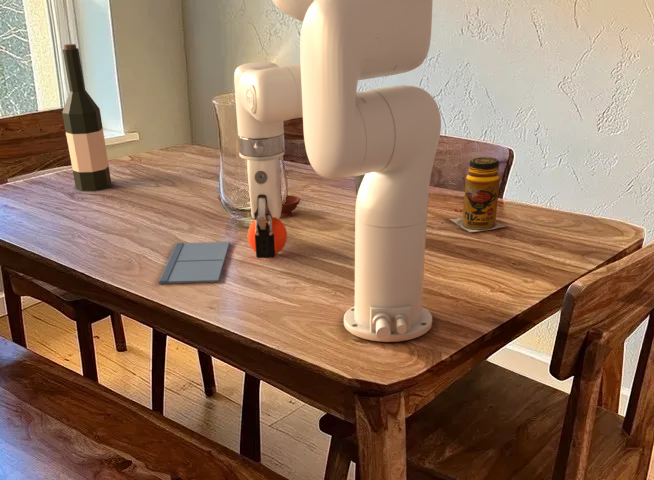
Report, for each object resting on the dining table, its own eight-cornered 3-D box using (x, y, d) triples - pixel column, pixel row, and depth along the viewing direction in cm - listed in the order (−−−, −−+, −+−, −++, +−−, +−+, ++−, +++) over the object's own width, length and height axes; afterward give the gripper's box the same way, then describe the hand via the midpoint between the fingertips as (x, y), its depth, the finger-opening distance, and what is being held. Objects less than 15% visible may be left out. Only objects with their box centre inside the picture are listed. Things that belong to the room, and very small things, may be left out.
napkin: (218, 282, 130) (218, 279, 130) (158, 283, 131) (158, 281, 130) (229, 243, 146) (229, 241, 146) (176, 245, 147) (176, 242, 146)
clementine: (283, 264, 136) (281, 223, 132) (244, 263, 137) (241, 223, 133) (290, 248, 142) (289, 209, 139) (253, 247, 144) (250, 209, 140)
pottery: (245, 195, 173) (244, 174, 170) (315, 210, 161) (315, 188, 159) (207, 208, 166) (205, 187, 163) (277, 225, 154) (276, 202, 152)
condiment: (470, 233, 145) (476, 166, 138) (448, 220, 152) (453, 156, 145) (505, 228, 146) (513, 161, 140) (482, 215, 153) (488, 151, 147)
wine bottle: (74, 183, 188) (48, 44, 172) (109, 179, 190) (87, 41, 173) (77, 192, 181) (51, 48, 165) (113, 188, 183) (91, 45, 167)
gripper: (282, 157, 122) (286, 265, 131) (286, 133, 137) (289, 232, 146) (234, 159, 122) (242, 266, 132) (243, 135, 137) (249, 233, 147)
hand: (267, 248), depth 139 cm, fingers closed on clementine, 8 cm apart
